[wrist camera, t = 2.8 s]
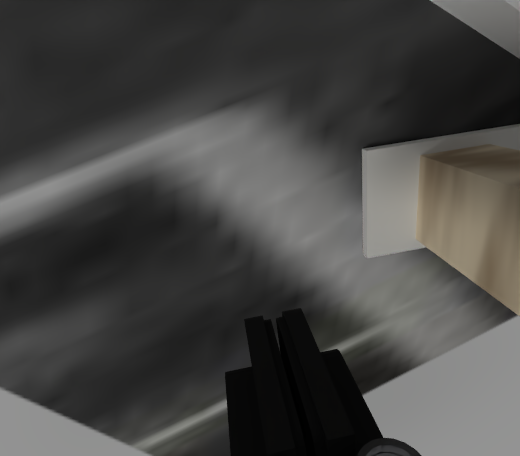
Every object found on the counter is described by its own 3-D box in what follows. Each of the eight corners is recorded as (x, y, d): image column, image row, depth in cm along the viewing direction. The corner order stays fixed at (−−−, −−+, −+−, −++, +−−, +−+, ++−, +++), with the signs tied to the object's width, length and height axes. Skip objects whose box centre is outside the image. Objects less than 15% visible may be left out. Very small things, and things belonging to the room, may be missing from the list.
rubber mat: (674, 99, 20) (687, 99, 20) (640, 202, 23) (651, 205, 22) (361, 148, 19) (366, 150, 18) (363, 253, 21) (367, 258, 21)
